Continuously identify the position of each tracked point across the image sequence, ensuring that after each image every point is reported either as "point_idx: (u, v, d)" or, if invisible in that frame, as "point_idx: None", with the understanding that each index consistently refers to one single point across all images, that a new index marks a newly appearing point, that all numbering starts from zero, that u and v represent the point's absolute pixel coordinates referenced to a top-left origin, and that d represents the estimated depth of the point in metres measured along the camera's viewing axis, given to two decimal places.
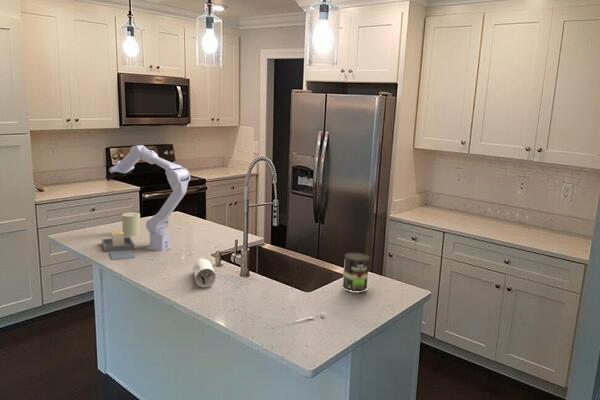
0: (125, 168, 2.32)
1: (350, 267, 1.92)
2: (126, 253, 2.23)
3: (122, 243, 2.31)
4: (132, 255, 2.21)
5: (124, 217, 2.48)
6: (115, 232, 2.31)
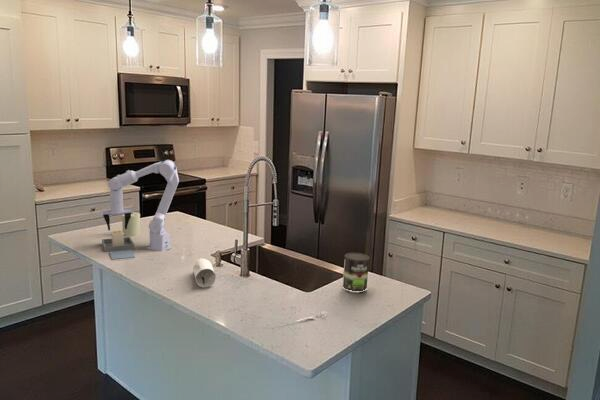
0: (113, 207, 2.26)
1: (350, 267, 1.92)
2: (126, 253, 2.23)
3: (122, 243, 2.31)
4: (132, 255, 2.21)
5: (124, 217, 2.48)
6: (115, 232, 2.31)
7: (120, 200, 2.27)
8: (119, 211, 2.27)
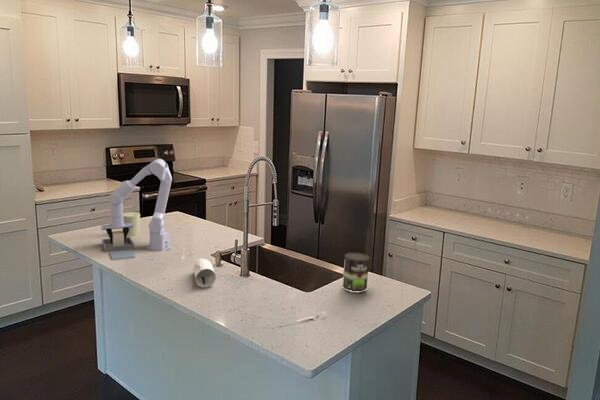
0: (113, 221, 2.28)
1: (350, 267, 1.92)
2: (126, 253, 2.23)
3: (122, 243, 2.31)
4: (132, 255, 2.21)
5: (124, 217, 2.48)
6: (115, 232, 2.31)
7: (120, 214, 2.28)
8: (119, 225, 2.29)
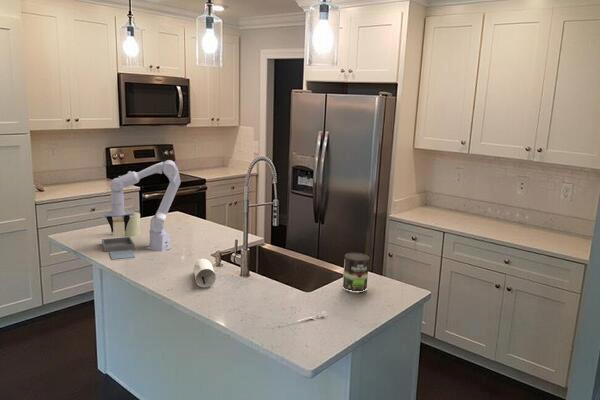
0: (114, 208, 2.23)
1: (350, 267, 1.92)
2: (126, 253, 2.23)
3: (123, 232, 2.27)
4: (132, 255, 2.21)
5: None
6: (115, 220, 2.27)
7: (122, 201, 2.24)
8: (120, 213, 2.24)
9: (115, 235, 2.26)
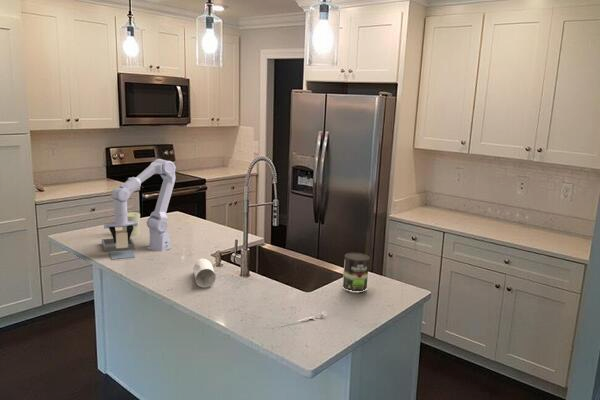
0: (117, 219, 2.15)
1: (350, 267, 1.92)
2: (126, 253, 2.23)
3: (126, 243, 2.19)
4: (132, 255, 2.21)
5: None
6: (118, 231, 2.19)
7: None
8: (123, 223, 2.16)
9: (118, 246, 2.18)
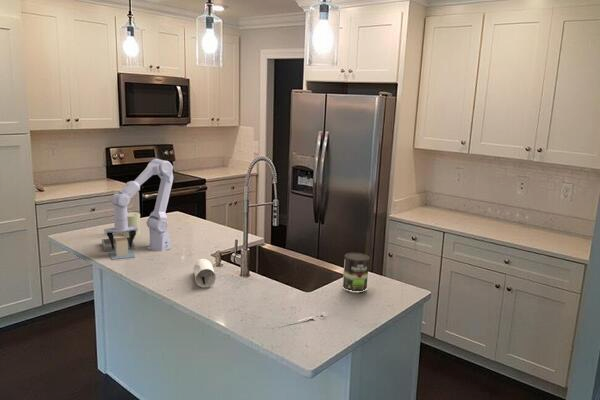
0: (117, 224, 2.15)
1: (350, 267, 1.92)
2: None
3: (126, 251, 2.20)
4: (132, 255, 2.21)
5: None
6: (119, 239, 2.19)
7: None
8: (123, 229, 2.16)
9: (118, 254, 2.19)
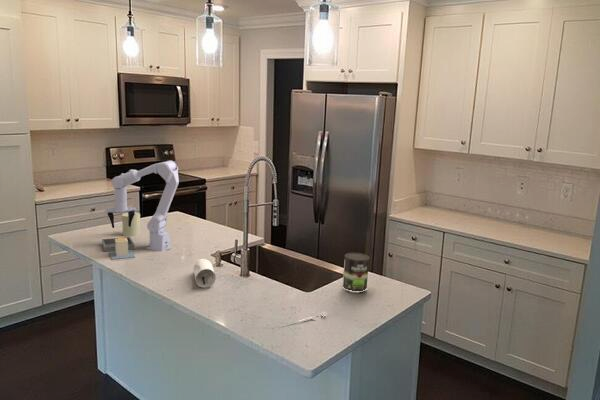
0: (117, 205, 2.30)
1: (350, 267, 1.92)
2: None
3: (126, 251, 2.20)
4: (132, 255, 2.21)
5: (124, 217, 2.48)
6: (119, 239, 2.19)
7: (123, 198, 2.30)
8: (123, 209, 2.31)
9: (118, 254, 2.19)
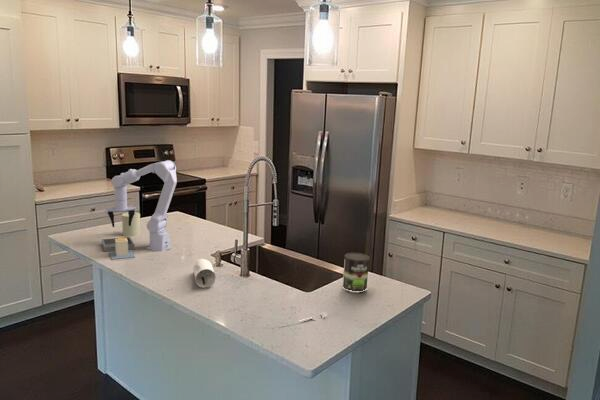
0: (117, 204, 2.32)
1: (350, 267, 1.92)
2: None
3: (126, 251, 2.20)
4: (132, 255, 2.21)
5: (124, 217, 2.48)
6: (119, 239, 2.19)
7: (122, 198, 2.32)
8: (123, 208, 2.33)
9: (118, 254, 2.19)
